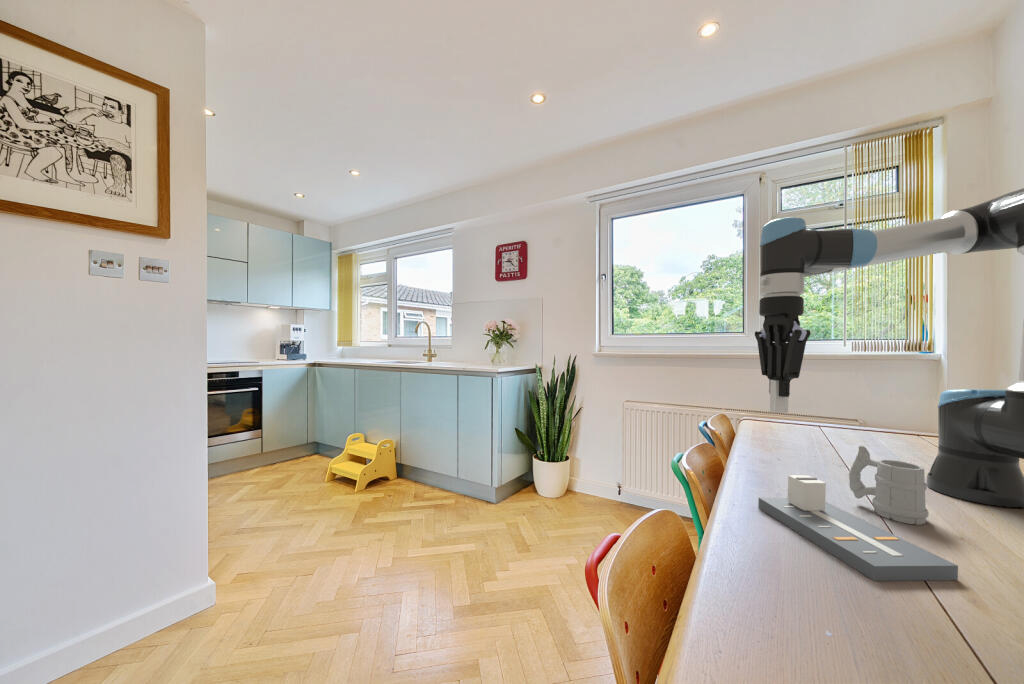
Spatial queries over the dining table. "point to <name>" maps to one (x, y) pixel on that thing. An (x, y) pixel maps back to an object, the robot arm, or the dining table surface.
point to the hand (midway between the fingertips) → (778, 411)
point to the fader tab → (806, 493)
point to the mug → (892, 488)
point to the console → (861, 543)
